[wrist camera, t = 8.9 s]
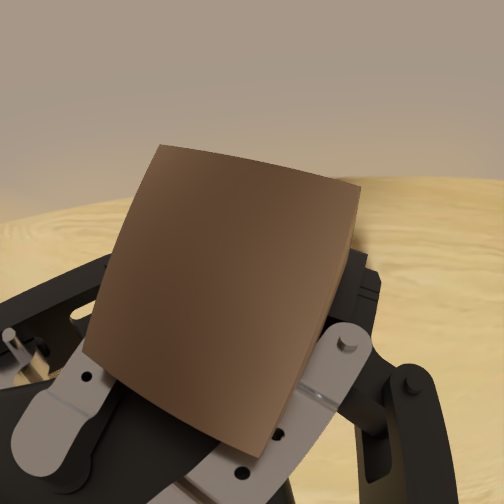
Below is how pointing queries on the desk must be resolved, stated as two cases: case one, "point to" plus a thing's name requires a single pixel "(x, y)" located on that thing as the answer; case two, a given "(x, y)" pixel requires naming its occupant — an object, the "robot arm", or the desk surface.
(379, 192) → the desk surface
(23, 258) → the desk surface
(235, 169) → the brown wooden block
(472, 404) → the desk surface
